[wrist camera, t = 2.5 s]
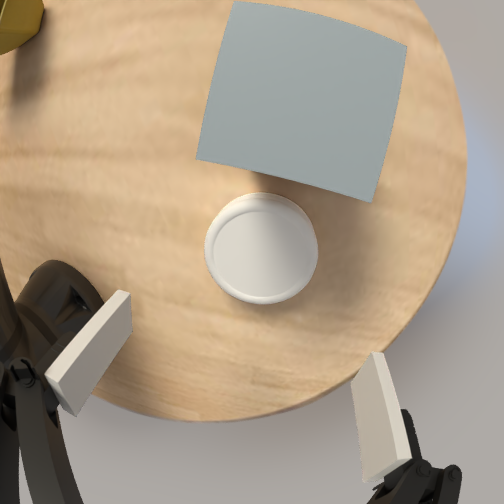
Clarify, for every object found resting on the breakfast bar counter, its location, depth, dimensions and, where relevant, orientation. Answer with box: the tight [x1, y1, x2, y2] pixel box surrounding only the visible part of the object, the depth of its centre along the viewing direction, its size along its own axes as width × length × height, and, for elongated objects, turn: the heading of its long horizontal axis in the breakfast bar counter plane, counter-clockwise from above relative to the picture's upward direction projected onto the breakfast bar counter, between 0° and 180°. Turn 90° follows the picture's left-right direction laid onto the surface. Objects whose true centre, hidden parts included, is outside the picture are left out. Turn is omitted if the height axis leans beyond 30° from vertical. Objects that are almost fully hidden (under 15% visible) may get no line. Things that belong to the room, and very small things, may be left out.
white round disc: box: [204, 192, 318, 304], centre depth 25 cm, size 10×10×4 cm
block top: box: [196, 1, 407, 203], centre depth 12 cm, size 7×7×7 cm
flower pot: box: [0, 0, 44, 55], centre depth 12 cm, size 9×9×9 cm
